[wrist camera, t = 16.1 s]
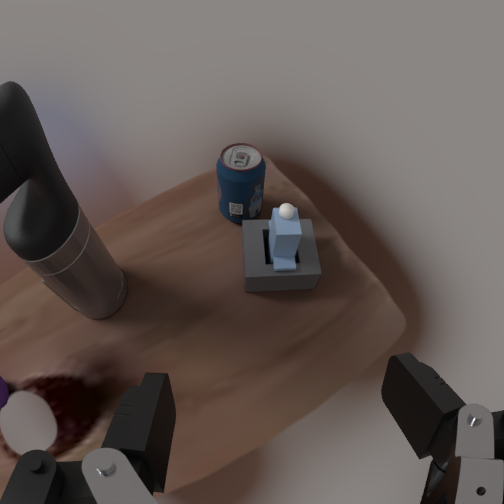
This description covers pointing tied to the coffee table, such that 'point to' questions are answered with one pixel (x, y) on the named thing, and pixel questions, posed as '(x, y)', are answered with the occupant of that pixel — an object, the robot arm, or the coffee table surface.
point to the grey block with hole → (264, 275)
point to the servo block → (283, 237)
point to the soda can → (240, 182)
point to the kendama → (3, 393)
